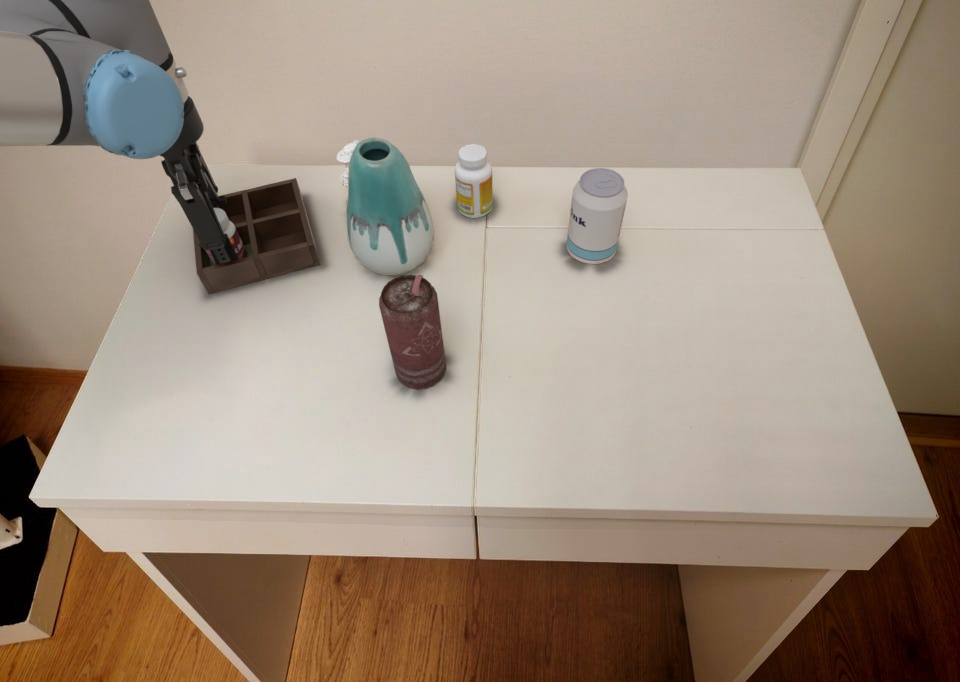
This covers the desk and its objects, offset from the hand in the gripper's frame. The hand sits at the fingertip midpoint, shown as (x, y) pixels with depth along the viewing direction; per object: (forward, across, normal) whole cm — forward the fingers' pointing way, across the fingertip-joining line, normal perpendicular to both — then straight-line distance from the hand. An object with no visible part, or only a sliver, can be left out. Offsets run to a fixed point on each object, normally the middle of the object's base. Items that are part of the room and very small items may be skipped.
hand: (231, 259), depth 83 cm
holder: (+1, +4, -4) cm, 5 cm away
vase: (+2, -6, -22) cm, 23 cm away
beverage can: (+1, -15, -48) cm, 50 cm away
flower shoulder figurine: (+2, +6, -20) cm, 21 cm away
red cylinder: (+2, -26, -20) cm, 33 cm away
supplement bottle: (+1, 0, -36) cm, 36 cm away
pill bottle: (+1, 0, 0) cm, 1 cm away
